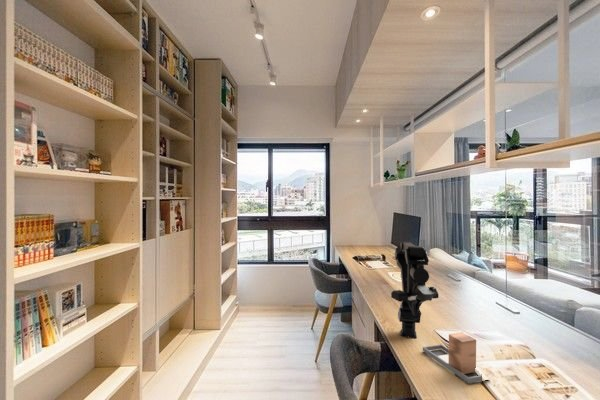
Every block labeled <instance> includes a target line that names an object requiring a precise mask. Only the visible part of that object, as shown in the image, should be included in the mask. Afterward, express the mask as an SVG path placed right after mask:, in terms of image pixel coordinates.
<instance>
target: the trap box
mask: <svg viewBox="0 0 600 400" xmlns="http://www.w3.org/2000/svg"><path fill="white" fill-rule="evenodd" d="M422 353H423V354H425V356H427V357H429V358H430V359H432V361H434V362H436V364H439V365H440V366H441V367H443V368H444V369H446V370H447V371H448V372H450V373H451V374H453V375H454V376H455V377H457V378H458V379H459V380H461V381H463V382H464V383H465V384H466V385H468V386H469V385H473V384H480V383H483V382H482V381H481V380H482V374H481V375H478V376H477V375H476V373H475V372H472V373H466V374H463V373H461V372H460V371H458V370H457V369H455V368H454V367H453V366H451V365H450V364H449V347H447V346H445V345H443V344H442V343H441V344H434V345H427V346H423V347H422Z"/></svg>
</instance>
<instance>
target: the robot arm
mask: <svg viewBox="0 0 600 400" xmlns="http://www.w3.org/2000/svg"><path fill="white" fill-rule="evenodd" d="M394 260H395V261H396V265H397V267H398V268H399V270H400V277H401V279H400V280H401V288H402V290H401V289H399V290H393V291H391V293H390V294H391V296H390V297H391V299H394V300H395V301H398V302H400V306H399V309H398V311H397V319H398V321H399V322H400V323H401V329H400V336H401V337H405V338H411V339H417V331H416V324H417V323H418V324H420V322H421V316H422V311H421V310H420V308H421V306H422V304H423V303H424V302H427V301H429V302H431V301H432V300H433V299H439V292H438V290H437V288H436V286H427V285H426V283H427V282H428V280H429V278H430V274H429V271H427V269H425V266H428V265H429V257H428V252H427V250H426V249H425V247H424V246H418V245H415V244H413V242H412V241H400V245H398V246H397V247H396V248H395V251H394Z"/></svg>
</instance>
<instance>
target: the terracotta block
mask: <svg viewBox="0 0 600 400" xmlns="http://www.w3.org/2000/svg"><path fill="white" fill-rule="evenodd" d="M448 349H449V364H450V365H451V366H453V367H454V368H455V369H457V370H458V371H460V372H461V373H463V374H466V373H472V372H475V368H476V366H477V339H476V338H475V337H472V336H471V335H468V334H466V333H464V332H456V333H455V332H454V333H449V334H448Z"/></svg>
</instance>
